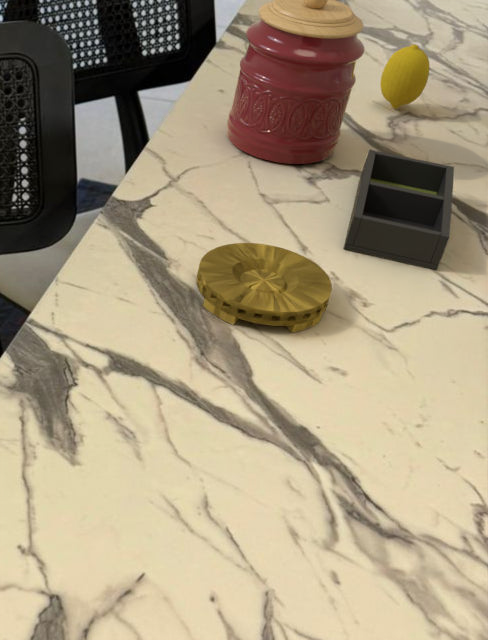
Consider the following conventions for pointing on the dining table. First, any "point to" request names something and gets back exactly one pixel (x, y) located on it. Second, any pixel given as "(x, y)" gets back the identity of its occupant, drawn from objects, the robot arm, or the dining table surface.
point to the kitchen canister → (295, 80)
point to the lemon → (405, 76)
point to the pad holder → (402, 210)
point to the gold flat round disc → (263, 286)
